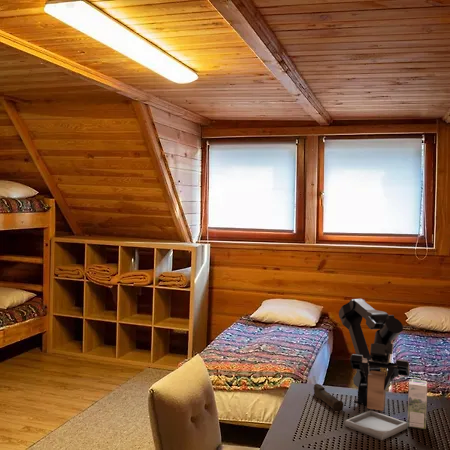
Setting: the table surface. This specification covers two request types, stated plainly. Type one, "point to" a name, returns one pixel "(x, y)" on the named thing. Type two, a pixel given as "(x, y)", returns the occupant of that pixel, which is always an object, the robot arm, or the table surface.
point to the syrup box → (417, 403)
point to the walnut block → (376, 390)
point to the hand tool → (327, 398)
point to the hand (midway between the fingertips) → (376, 388)
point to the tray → (376, 424)
